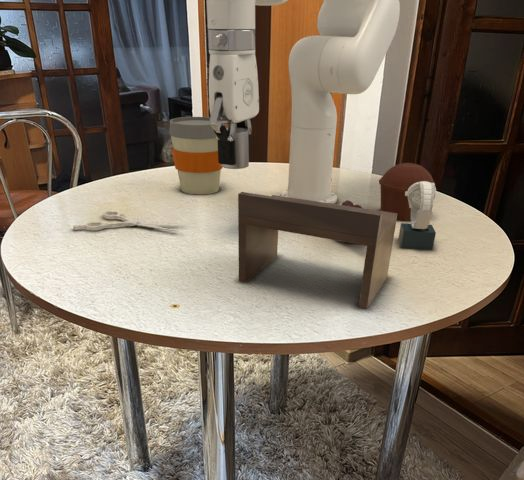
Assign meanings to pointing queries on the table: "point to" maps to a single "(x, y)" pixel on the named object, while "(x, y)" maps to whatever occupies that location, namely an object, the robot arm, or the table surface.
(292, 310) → the table surface
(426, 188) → the head sculpture
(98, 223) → the scissors
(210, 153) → the reusable coffee cup
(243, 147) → the grey upright cylinder
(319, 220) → the shelf
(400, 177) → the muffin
